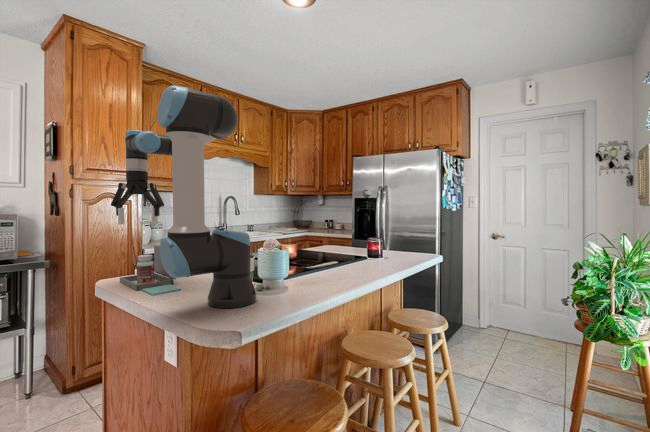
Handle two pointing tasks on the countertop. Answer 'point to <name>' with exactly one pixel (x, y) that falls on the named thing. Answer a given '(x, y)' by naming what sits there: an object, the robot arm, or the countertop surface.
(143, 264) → the pill bottle
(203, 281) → the countertop surface
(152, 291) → the pad
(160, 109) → the robot arm
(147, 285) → the case
